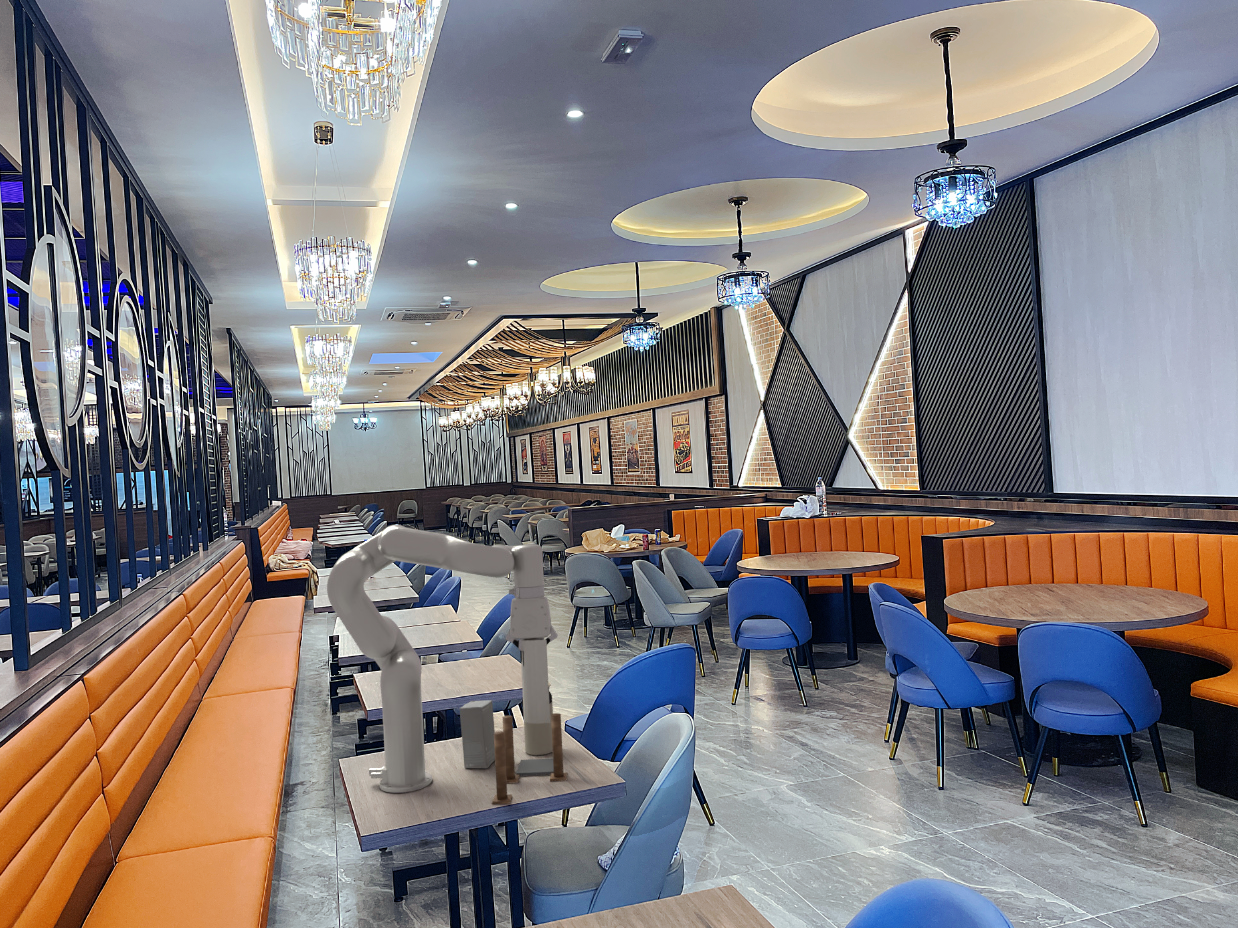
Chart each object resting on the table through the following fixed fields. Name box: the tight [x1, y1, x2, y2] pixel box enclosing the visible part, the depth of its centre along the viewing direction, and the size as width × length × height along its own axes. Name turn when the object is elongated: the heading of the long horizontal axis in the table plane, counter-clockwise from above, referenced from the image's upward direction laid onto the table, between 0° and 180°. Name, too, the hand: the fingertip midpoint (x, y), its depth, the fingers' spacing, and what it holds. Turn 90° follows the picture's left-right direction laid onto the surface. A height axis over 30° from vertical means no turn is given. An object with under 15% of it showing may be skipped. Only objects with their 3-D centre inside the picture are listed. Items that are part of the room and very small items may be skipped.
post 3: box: [549, 712, 569, 782], centre depth 210 cm, size 4×4×16 cm
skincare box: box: [459, 699, 496, 769], centre depth 224 cm, size 8×7×16 cm
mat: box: [515, 757, 554, 777], centre depth 218 cm, size 10×10×1 cm
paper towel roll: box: [520, 638, 550, 724], centre depth 218 cm, size 7×6×21 cm
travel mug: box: [522, 682, 554, 756], centre depth 232 cm, size 8×8×18 cm
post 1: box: [491, 730, 513, 805], centre depth 197 cm, size 4×4×16 cm
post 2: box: [502, 715, 521, 784], centre depth 210 cm, size 4×4×16 cm
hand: (532, 663), depth 218 cm, fingers closed on paper towel roll, 3 cm apart
